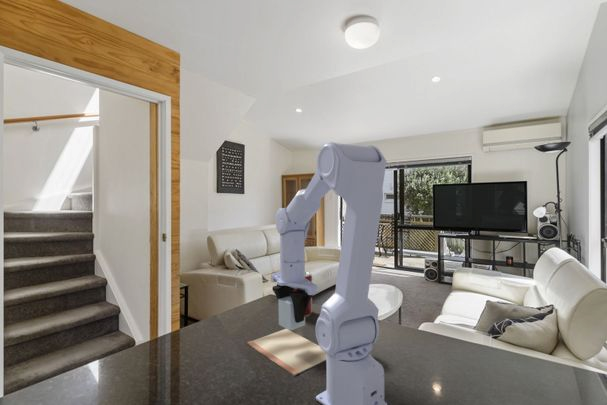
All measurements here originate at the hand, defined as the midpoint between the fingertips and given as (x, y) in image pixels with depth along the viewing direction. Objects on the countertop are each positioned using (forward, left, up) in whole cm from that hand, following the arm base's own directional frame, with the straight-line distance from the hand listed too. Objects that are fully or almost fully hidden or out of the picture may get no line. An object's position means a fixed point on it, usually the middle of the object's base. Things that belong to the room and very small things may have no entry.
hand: (292, 318), depth 73 cm
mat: (0, +1, -7) cm, 7 cm away
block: (0, 0, -2) cm, 2 cm away
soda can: (+15, -15, -7) cm, 22 cm away
